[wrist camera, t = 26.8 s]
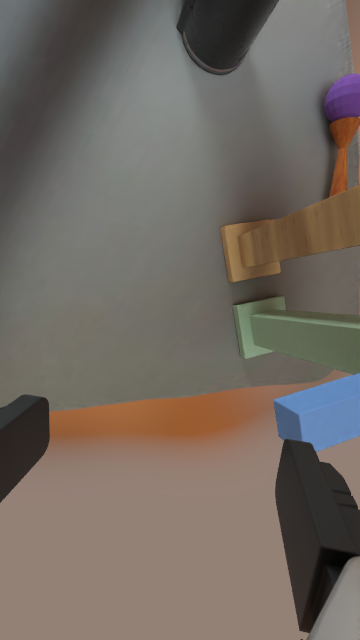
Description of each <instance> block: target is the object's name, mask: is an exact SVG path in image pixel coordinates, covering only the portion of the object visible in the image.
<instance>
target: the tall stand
mask: <svg viewBox="0 0 360 640" xmlns="http://www.w3.org/2000/svg"><path fill="white" fill-rule="evenodd" d="M220 231H221V237H222V243H223V250H224V256H225V262H226V268H227V275H228V281H229V283H231V282H237V281H242V280H247V279H253V278H258V277H263V276H268V275H273V274H278V273H281V270H280V262H279V261H283V260H288V259H293V258H298V257H303V256H309V255H314V254H319V253H324V252H329V251H334V250H339V249H344V248H349V247H354V246H360V185H358V186H355V187H353V188H351V189H348V190H346V191H344V192H341V193H339V194H337V195H334V196H332V197H329V198H327V199H325V200H322V201H320V202H318V203H315V204H313V205H311V206H308V207H306V208H304V209H301V210H299V211H297V212H294V213H292V214H289V215H287V216H285V217H282V218H280V219H278V220H275V221H274V219H269V220H262V221H254V222H247V223H240V224H233V225H226V226H223V227H221V228H220Z"/></svg>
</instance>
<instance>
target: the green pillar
mask: <svg viewBox="0 0 360 640" xmlns="http://www.w3.org/2000/svg"><path fill="white" fill-rule="evenodd" d="M233 312H234V318H235V324H236V331H237V337H238V343H239V349H240V356H241V357H242V358H244V359H247V358H251V357H255V356H259V355H262V354H266V353H270V352H274V351H276V352H279V353H283V354H286V355H289V356H293V357H296V358H299V359H303V360H306V361H309V362H313V363H316V364H320V365H323V366H326V367H330V368H333V369H336V370H340V371H343V372H347V373H350V374H353V375H354V374H357V373H360V315H347V314H332V313H317V312H303V311H288V310H286V306H285V299H284V296H277V297H272V298H267V299H263V300H258V301H253V302H249V303H244V304H239V305H235V306H233Z"/></svg>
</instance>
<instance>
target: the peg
mask: <svg viewBox="0 0 360 640" xmlns="http://www.w3.org/2000/svg"><path fill="white" fill-rule="evenodd" d="M274 407H275V414H276V421H277V428H278V434H279V437H280V438H281V439H283V440H285V439H292V440H298V441H304V442H310V443H312V445H313V447H314V449H315V452H317V451H320V450H323V449H325V448H328V447H331V446H333V445H336V444H338V443H341V442H344V441H346V440H349V439H352V438H354V437H357V436H360V373H357V374H354V375H351V376H348V377H345V378H341V379H338V380H335V381H332V382H329V383H326V384H322V385H319V386H316V387H313V388H309V389H306V390H303V391H300V392H296V393H293V394H290V395H287V396H284V397H280V398H278V399H274Z"/></svg>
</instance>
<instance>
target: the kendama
mask: <svg viewBox="0 0 360 640" xmlns="http://www.w3.org/2000/svg"><path fill="white" fill-rule="evenodd" d="M325 112H326V115H327V118H328V119H329V120H331V121H332V122H333V123H331V124H330V126H329V128H330V131H331V133H332V135H333V138H334V140H335V143H336V145H337V147H338V150H339V151H338V156H337V161H336V166H335V171H334V176H333V181H332V186H331V191H330V196H329V197H332V196H334V195H337V194H339V193H341V192H344V191H346V190H348V186H347V147H348V146H349V144H350V142H351V140H352V138H353V136H354V134H355V133H356V131H357V129H358V127H359V125H360V118H358V117H359V116H360V74H349V75H346V76H344V77H342V78H340V79H339V80H338V81H337V82H336V83H335V84H334V85H333V86H332V87H331V88H330V90H329V92H328V94H327V96H326V99H325Z"/></svg>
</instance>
